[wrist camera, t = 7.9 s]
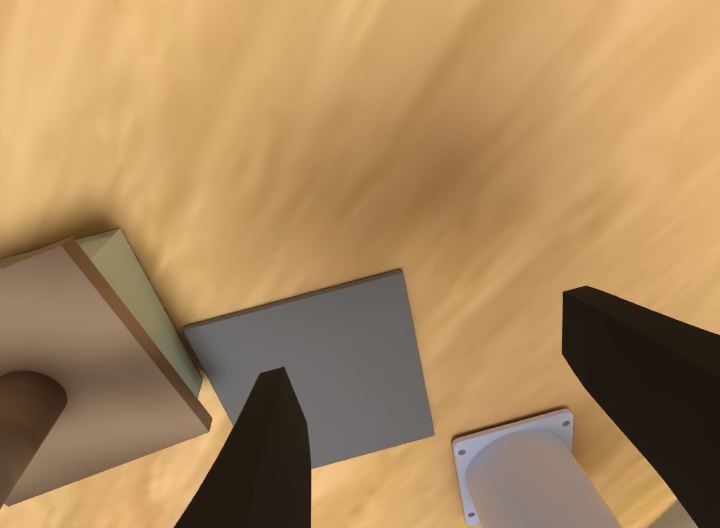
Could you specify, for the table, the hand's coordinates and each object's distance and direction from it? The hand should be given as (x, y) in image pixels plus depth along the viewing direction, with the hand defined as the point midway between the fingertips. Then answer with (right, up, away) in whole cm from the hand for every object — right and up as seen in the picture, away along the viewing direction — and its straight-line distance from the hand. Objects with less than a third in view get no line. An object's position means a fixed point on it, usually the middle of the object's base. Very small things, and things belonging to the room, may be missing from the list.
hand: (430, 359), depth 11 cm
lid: (-15, -3, +7) cm, 17 cm away
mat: (-4, -4, +13) cm, 14 cm away
